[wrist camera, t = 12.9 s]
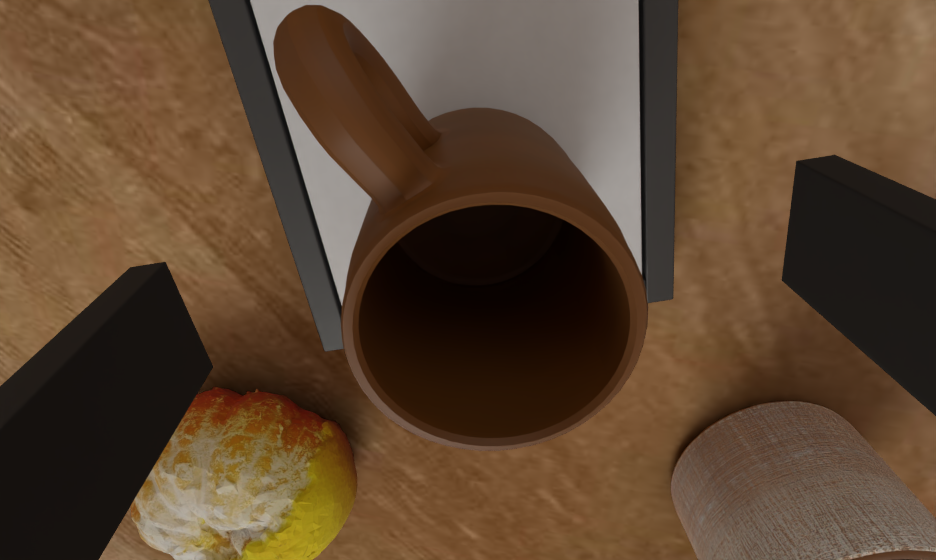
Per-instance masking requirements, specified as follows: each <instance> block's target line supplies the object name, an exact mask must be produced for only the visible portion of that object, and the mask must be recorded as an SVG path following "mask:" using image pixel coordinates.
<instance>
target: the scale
mask: <svg viewBox="0 0 936 560" xmlns="http://www.w3.org/2000/svg"><path fill="white" fill-rule="evenodd" d="M638 2H639V80H640V159H641V237H642V278H643V281H644V285H645V289H646V294H647V303H651V302H658V301H665V300H671V299H673V284H674V223H675V163H676V102H677V42H678V0H638ZM209 3H210V6H211V9H212V13H213V16H214V19H215V22H216V25H217V28H218V31H219V34H220V37H221V40H222V43H223V46H224V49H225V52H226V55H227V58H228V61H229V64H230V67H231V70H232V73H233V76H234V79H235V82H236V85H237V88H238V91H239V94H240V97H241V100H242V103H243V106H244V109H245V112H246V115H247V118H248V121H249V125H250V128H251V131H252V134H253V137H254V140H255V143H256V146H257V149H258V152H259V155H260V158H261V161H262V164H263V167H264V170H265V173H266V176H267V179H268V182H269V185H270V188H271V191H272V194H273V197H274V200H275V203H276V206H277V209H278V212H279V215H280V218H281V221H282V224H283V227H284V230H285V233H286V237H287V240H288V243H289V246H290V249H291V252H292V255H293V258H294V261H295V264H296V267H297V270H298V273H299V276H300V279H301V282H302V285H303V288H304V291H305V294H306V297H307V300H308V303H309V306H310V309H311V312H312V315H313V318H314V321H315V324H316V327H317V330H318V333H319V336H320V339H321V342H322V345H323V349H324V351H332V350H338V349H344V347H343V343H342V333H341V312H342V305H341V302H340V299H339V295H338V292H337V289H336V285H335V282H334V279H333V275H332V272H331V269H330V265H329V262H328V259H327V255H326V252H325V249H324V245H323V242H322V239H321V235H320V232H319V229H318V225H317V222H316V219H315V215H314V212H313V209H312V205H311V202H310V199H309V195H308V192H307V189H306V185H305V182H304V179H303V175H302V172H301V169H300V165H299V162H298V159H297V155H296V152H295V149H294V145H293V142H292V139H291V135H290V132H289V129H288V125H287V122H286V118H285V115H284V112H283V108H282V105H281V102H280V98H279V95H278V92H277V88H276V85H275V82H274V78H273V75H272V72H271V68H270V65H269V62H268V58H267V55H266V52H265V48H264V45H263V42H262V38H261V35H260V32H259V28H258V25H257V22H256V18H255V15H254V12H253V8H252V5H251V2H250V0H209Z"/></svg>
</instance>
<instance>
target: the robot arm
mask: <svg viewBox="0 0 936 560" xmlns="http://www.w3.org/2000/svg"><path fill="white" fill-rule="evenodd" d="M782 281H783V282H784V283H785V284H787V285H788V286H789V287H790V288H791V289H792V290H793V291H794V292H796V293H797V294H798V295H799V296H800V297H801V298H802V299H804V300H805V301H806V302H807V303H808V304H809V305H810V306H811V307H813V308H814V309H815V310H816V311H817V312H818V313H819V314H821V315H822V316H823V317H824V318H825V319H826V320H827V321H828V322H830V323H831V324H832V325H833V326H834V327H835V328H836V329H838V330H839V331H840V332H841V333H842V334H843V335H844V336H846V337H847V338H848V339H849V340H850V341H851V342H852V343H853V344H855V345H856V346H857V347H858V348H859V349H860V350H861V351H863V352H864V353H865V354H866V355H867V356H868V357H869V358H870V359H872V360H873V361H874V362H875V363H876V364H877V365H878V366H880V367H881V368H882V369H883V370H884V371H885V372H886V373H888V374H889V375H890V376H891V377H892V378H893V379H894V380H895V381H897V382H898V383H899V384H900V385H901V386H902V387H903V388H905V389H906V390H907V391H908V392H909V393H910V394H911V395H912V396H914V397H915V398H916V399H917V400H918V401H919V402H920V403H922V404H923V405H924V406H925V407H926V408H927V409H928V410H929V411H931V412H932V413H933V414H934V415H935V416H936V199H933V198H931V197H929V196H927V195H924V194H922V193H920V192H918V191H915V190H913V189H911V188H909V187H906V186H904V185H902V184H899V183H897V182H895V181H893V180H890V179H888V178H886V177H884V176H881V175H879V174H877V173H875V172H872V171H870V170H868V169H866V168H863V167H861V166H859V165H857V164H854V163H852V162H850V161H847V160H845V159H843V158H841V157H838V156H836V155H831V156H825V157H819V158H813V159H806V160H800V161H796V169H795V177H794V185H793V193H792V201H791V209H790V217H789V225H788V234H787V242H786V250H785V258H784V266H783V274H782ZM212 368H213V365H212V363H211V361H210V359H209V357H208V354H207V352H206V350H205V348H204V346H203V343H202V341H201V339H200V337H199V335H198V332H197V330H196V328H195V326H194V324H193V321H192V319H191V317H190V315H189V313H188V310H187V308H186V306H185V304H184V302H183V299H182V297H181V295H180V293H179V291H178V288H177V286H176V284H175V282H174V280H173V278H172V275H171V273H170V271H169V269H168V267H167V264H166V262H162V263H155V264H149V265H143V266H136V267H130V268H129V269H128V270H127V271H126V272H125V273H124V274H123V275H121V276H120V277H119V278H118V279H117V280H116V281H115V282H114V283H113V284H112V285H111V286H109V287H108V288H107V289H106V290H105V291H104V292H103V293H102V294H101V295H100V296H99V297H97V298H96V299H95V300H94V301H93V302H92V303H91V304H90V305H89V306H88V307H86V308H85V309H84V310H83V311H82V312H81V313H80V314H79V315H78V316H77V317H76V318H74V319H73V320H72V321H71V322H70V323H69V324H68V325H67V326H66V327H65V328H64V329H62V330H61V331H60V332H59V333H58V334H57V335H56V336H55V337H54V338H53V339H52V340H50V341H49V342H48V343H47V344H46V345H45V346H44V347H43V348H42V349H41V350H40V351H38V352H37V353H36V354H35V355H34V356H33V357H32V358H31V359H30V360H29V361H28V362H26V363H25V364H24V365H23V366H22V367H21V368H20V369H19V370H18V371H17V372H16V373H14V374H13V375H12V376H11V377H10V378H9V379H8V380H7V381H6V382H5V383H4V384H2V385H1V386H0V560H99V558H100V556H101V555H102V553H103V551H104V550H105V548H106V546H107V544H108V543H109V541H110V539H111V538H112V536H113V534H114V533H115V531H116V529H117V528H118V526H119V524H120V523H121V521H122V519H123V518H124V516H125V514H126V513H127V511H128V509H129V508H130V506H131V504H132V502H133V501H134V499H135V497H136V496H137V494H138V492H139V491H140V489H141V487H142V486H143V484H144V482H145V481H146V479H147V477H148V476H149V474H150V472H151V471H152V469H153V467H154V465H155V464H156V462H157V460H158V459H159V457H160V455H161V454H162V452H163V450H164V449H165V447H166V445H167V444H168V442H169V440H170V439H171V437H172V435H173V434H174V432H175V430H176V428H177V427H178V425H179V423H180V422H181V420H182V418H183V417H184V415H185V413H186V412H187V410H188V408H189V407H190V405H191V403H192V402H193V400H194V398H195V397H196V395H197V393H198V392H199V390H200V388H201V386H202V385H203V383H204V381H205V380H206V378H207V376H208V375H209V373H210V371H211V370H212Z"/></svg>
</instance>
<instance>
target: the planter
mask: <svg viewBox="0 0 936 560" xmlns="http://www.w3.org/2000/svg"><path fill="white" fill-rule="evenodd" d="M671 495H672V499H673V503H674V506H675V510H676V512H677V514H678V516H679V519H680V521H681V523H682V525H683V527H684V530H685V532H686V534H687V536H688V538H689V540H690V543H691V545H692V547H693V549H694V551H695V553H696V556H697V558H698V560H936V518H935V517H934V516H933V515H932V514H931V513H930V512H929V511H928V510H927V508H926V507H925V506H924V505H923V504H922V503H921V502H920V501H919V500H918V498H917V497H916V496H915V495H914V494H913V493H912V492H911V491H910V490H909V488H908V487H907V486H906V485H905V484H904V483H903V482H902V481H901V479H900V478H899V477H898V476H897V475H896V474H895V473H894V471H893V470H892V469H891V468H890V467H889V466H888V465H887V464H886V462H885V461H884V460H883V459H882V458H881V457H880V456H879V455H878V453H877V452H876V451H875V450H874V449H873V448H872V447H871V446H870V445H869V443H868V442H867V441H866V440H865V439H864V438H863V437H862V436H861V435H860V433H859V432H858V431H857V430H856V429H855V428H854V427H853V426H852V425H851V424H850V423H849V422H848V421H846V420H845V419H844V418H843V417H841V416H840V415H839V414H837V413H836V412H834V411H833V410H831V409H829V408H826V407H824V406H821V405H818V404H815V403H810V402H804V401H775V402H767V403H762V404H757V405H753V406H750V407H747V408H744V409H741V410H738V411H736V412H733V413H731V414H729V415H727V416H725V417H723V418H721V419H720V420H718V421H716V422H715V423H713V424H711V425H710V426H709V427H707V428H706V429H704V430H703V431H702V432H701V433H700V434H699V435H698V436H697V437H696V438H694V439H693V441H692V442H691V443H690V444H689V445H688V446H687V447H686V448H685V450H684V451H683V453H682V454H681V456H680V457H679V459H678V461H677V463H676V465H675V467H674V470H673V473H672V478H671Z"/></svg>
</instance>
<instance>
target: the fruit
mask: <svg viewBox="0 0 936 560" xmlns="http://www.w3.org/2000/svg"><path fill="white" fill-rule="evenodd" d="M356 492H357V473H356V468H355V465H354V458H353V453H352V449H351V447H350V445H349V442H348V439H347V436H346V434H345V433H344V432H343V431H342V429H341V427H340V425H339V424H337V422H336V421H330V420H326V419H323V418H321V417H320V416H319V415H317V414H316V413H313V412H311V411H307V410H304V409H302V408H301V407H299V406H297V405H296V404H295V403H294V402H292V401H291V400H290V399H289V398H288V397H287V396H285V395H278V394H272V393H268V392H260V391H259V390H258V389H256V391H255V392H254V393H252V392H251V391H246V394H245V395H244V396H243V395H240V394H239V393H237V392H235V391H232V390H230V389H225V388H224V389H222V388H219V387H213V388H212V390H210V391H205V392H202V393H199V394H197V395H196V397H195V398H194V400H193V402H192V403H191V405H190V407H189V408H188V410H187V412H186V413H185V415H184V417H183V418H182V420H181V422H180V423H179V425H178V427H177V428H176V430H175V432H174V434H173V435H172V437H171V439H170V440H169V442H168V444H167V445H166V447H165V449H164V450H163V452H162V454H161V455H160V457H159V459H158V460H157V462H156V464H155V465H154V467H153V469H152V471H151V472H150V474H149V476H148V477H147V479H146V481H145V482H144V484H143V486H142V487H141V489H140V491H139V492H138V494H137V496H136V497H135V499H134V501H133V502H132V504H131V513H132V516H131V518H132V520H133V522H134V523H135V524H136V525H137V528H138V531H139V534H140V538H141V539H143V540H144V541H145V542H146V543H147V544H148V545H150V546H151V547H152V548H154V549H157V550H160V551H163V552H164V553H168V554H170V555H171V556H172V557H173V558H174V559H175V560H313V559H314V558H315V557H317V556H318V555H319V554H320V553H321V552H322V551H323V550H324V549H325V548H326V547H327V546H328V544H329V543H330V542H331V541H332V540H333V539H334V538H335V537H336V535H337V534H338V532H339V531H340V529H341V528H342V526H343V525H344V523H345V521H346V520H347V518H348V516H349V514H350V511H351V509H352V507H353V504H354V501H355V497H356Z"/></svg>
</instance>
